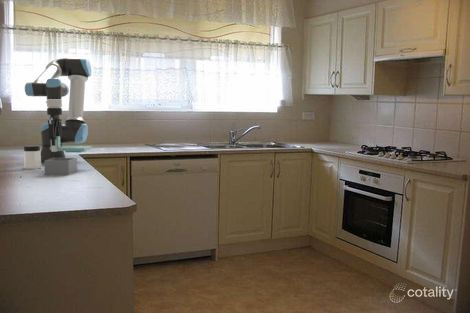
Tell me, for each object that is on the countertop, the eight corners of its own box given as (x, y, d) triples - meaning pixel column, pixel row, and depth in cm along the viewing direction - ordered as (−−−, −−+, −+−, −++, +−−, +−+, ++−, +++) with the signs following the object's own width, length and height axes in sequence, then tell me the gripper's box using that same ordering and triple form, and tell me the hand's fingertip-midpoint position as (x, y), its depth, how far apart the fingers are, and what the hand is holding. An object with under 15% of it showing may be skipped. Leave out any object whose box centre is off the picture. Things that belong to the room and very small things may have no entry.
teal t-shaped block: (55, 150, 275) (55, 135, 274) (91, 150, 275) (91, 136, 274) (46, 152, 262) (45, 137, 261) (84, 153, 262) (83, 137, 261)
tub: (54, 171, 259) (53, 157, 258) (77, 171, 259) (76, 158, 258) (44, 174, 247) (44, 160, 246) (68, 174, 247) (68, 160, 246)
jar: (43, 166, 275) (42, 145, 273) (39, 168, 267) (38, 146, 265) (26, 166, 274) (25, 145, 272) (21, 169, 266) (20, 146, 264)
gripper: (53, 107, 274) (54, 149, 277) (41, 107, 258) (42, 152, 260) (66, 107, 274) (68, 149, 277) (55, 107, 258) (56, 152, 260)
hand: (55, 151), depth 269 cm, fingers closed on teal t-shaped block, 3 cm apart
